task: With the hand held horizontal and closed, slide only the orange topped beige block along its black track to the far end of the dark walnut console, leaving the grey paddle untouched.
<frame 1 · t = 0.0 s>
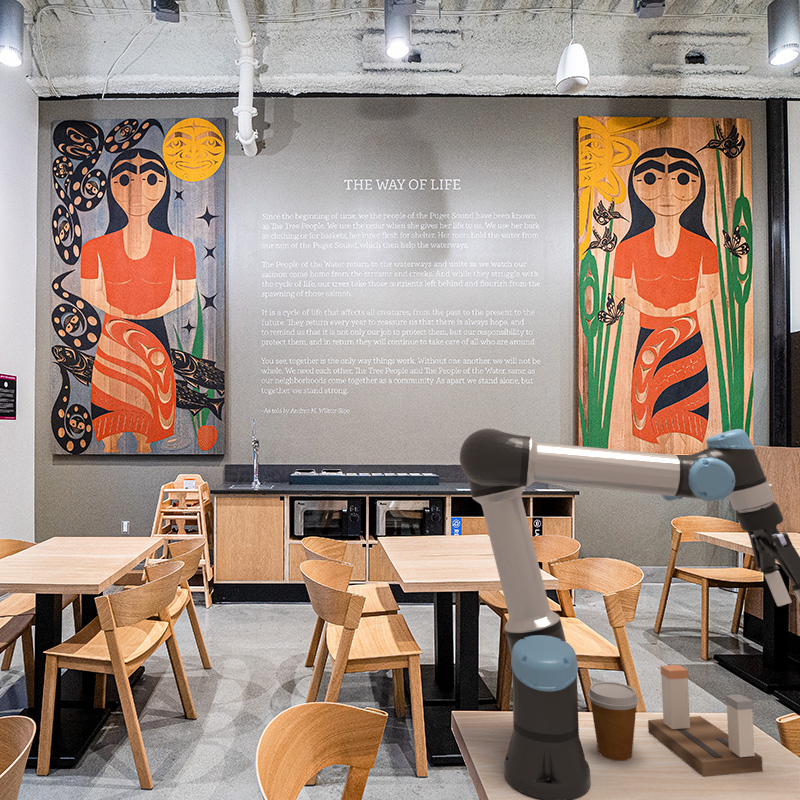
hand: (799, 612, 118), 28 cm above the table, tool tilted 20°, fingers open, 13 cm apart
orange topped beige block: (675, 696, 126), point 8 cm above the table, slide at 0.0 cm
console: (701, 750, 121), on the table
grey paddle: (740, 725, 115), point 8 cm above the table, slide at 0.0 cm
disposable coffee cup: (614, 754, 120), on the table
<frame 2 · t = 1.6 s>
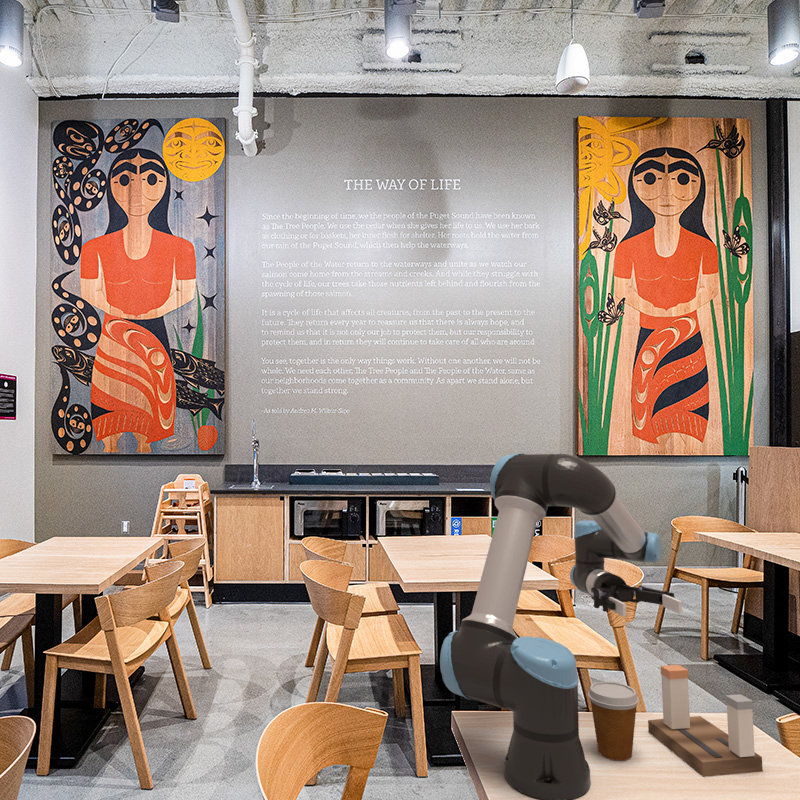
hand: (652, 608, 135), 24 cm above the table, tool horizontal, fingers open, 12 cm apart
nothing on the table moved.
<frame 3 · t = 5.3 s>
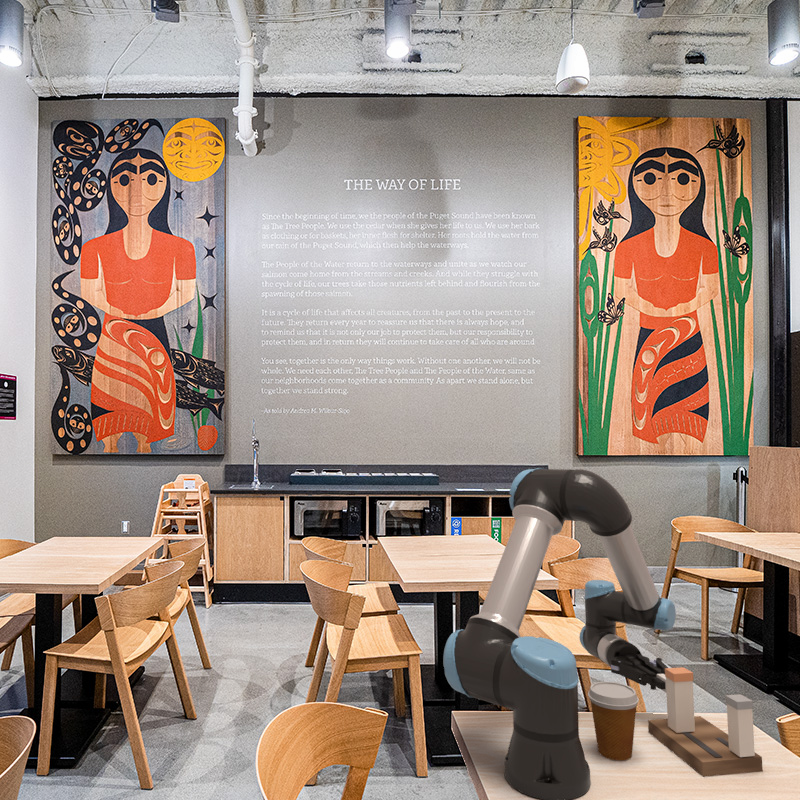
hand: (678, 691, 127), 9 cm above the table, tool horizontal, fingers closed
orange topped beige block: (680, 699, 125), point 8 cm above the table, slide at 1.6 cm, touching gripper
everything else where it was.
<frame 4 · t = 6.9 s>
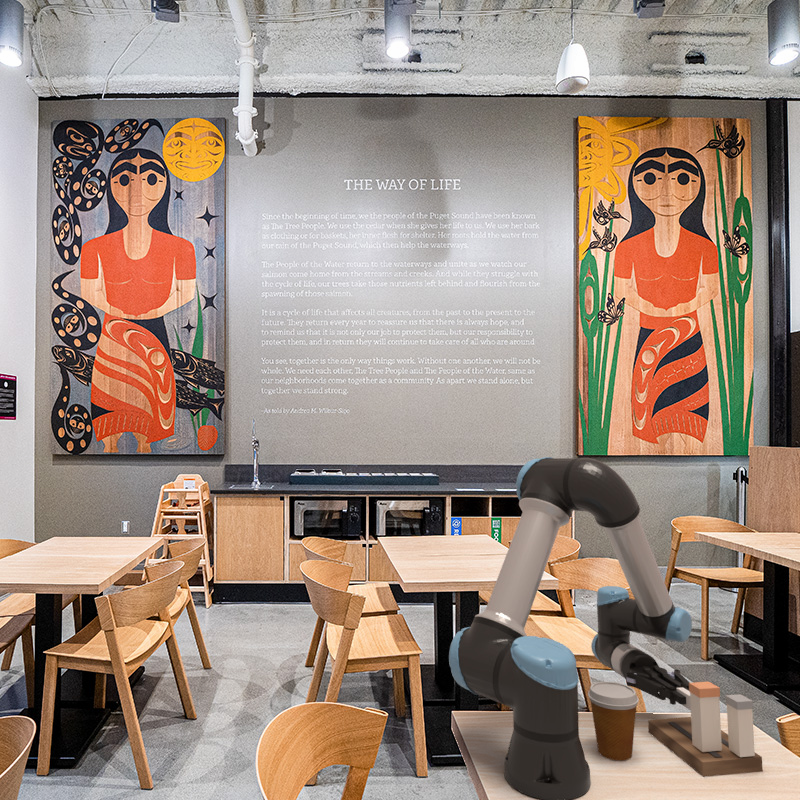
hand: (700, 707, 119), 9 cm above the table, tool horizontal, fingers closed
orange topped beige block: (705, 716, 117), point 8 cm above the table, slide at 9.7 cm
everything else where it was.
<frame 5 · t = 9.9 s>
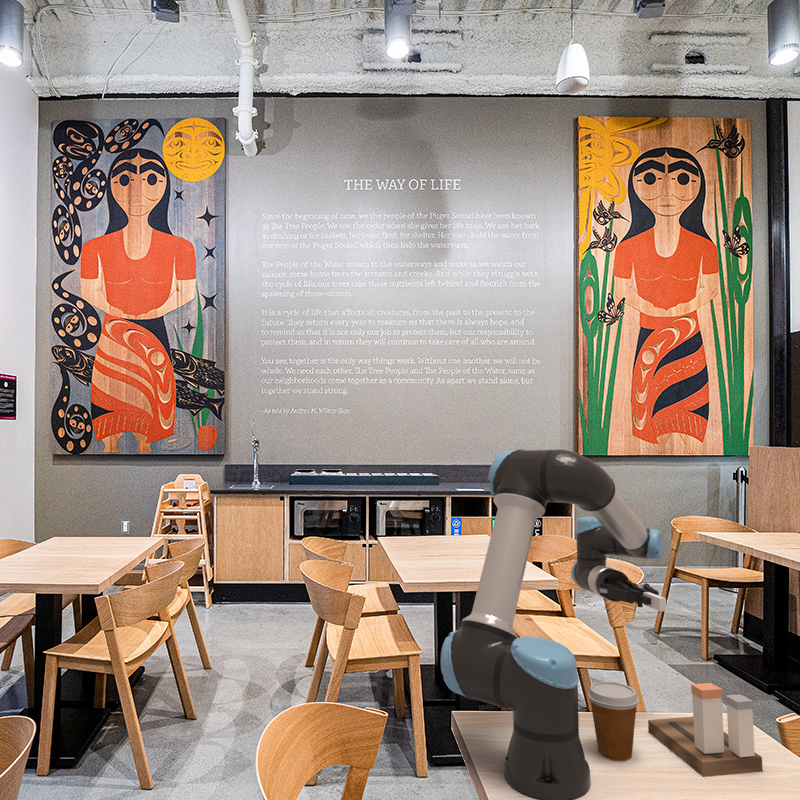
hand: (663, 604, 131), 26 cm above the table, tool horizontal, fingers closed
orange topped beige block: (707, 717, 116), point 8 cm above the table, slide at 10.3 cm
everything else where it was.
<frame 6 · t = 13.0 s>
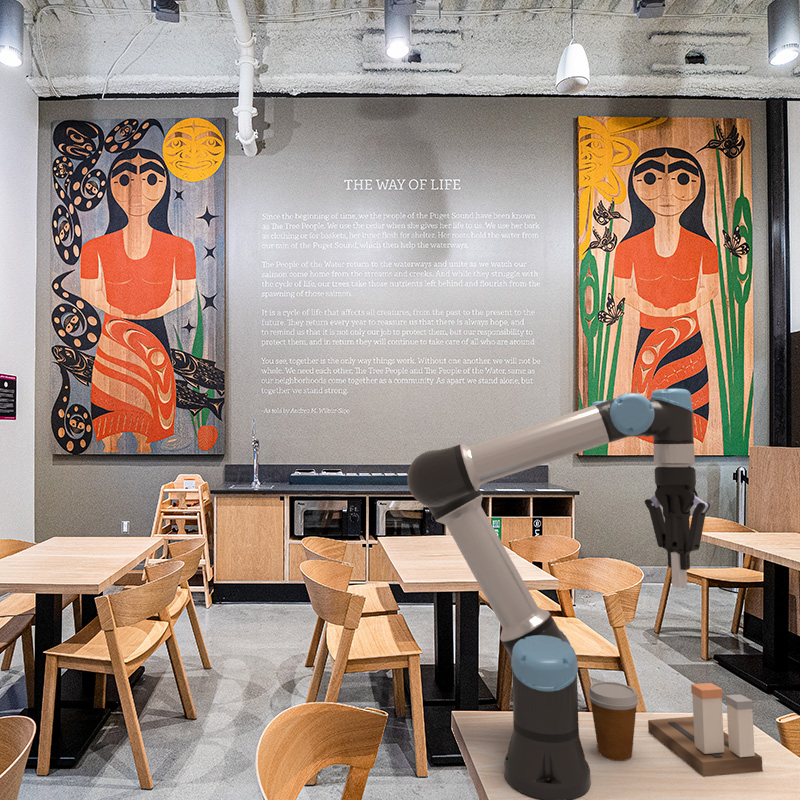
hand: (679, 585, 121), 32 cm above the table, tool pointing down, fingers closed
nothing on the table moved.
at the end: orange topped beige block slide at 10.3 cm; grey paddle slide at 0.0 cm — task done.
